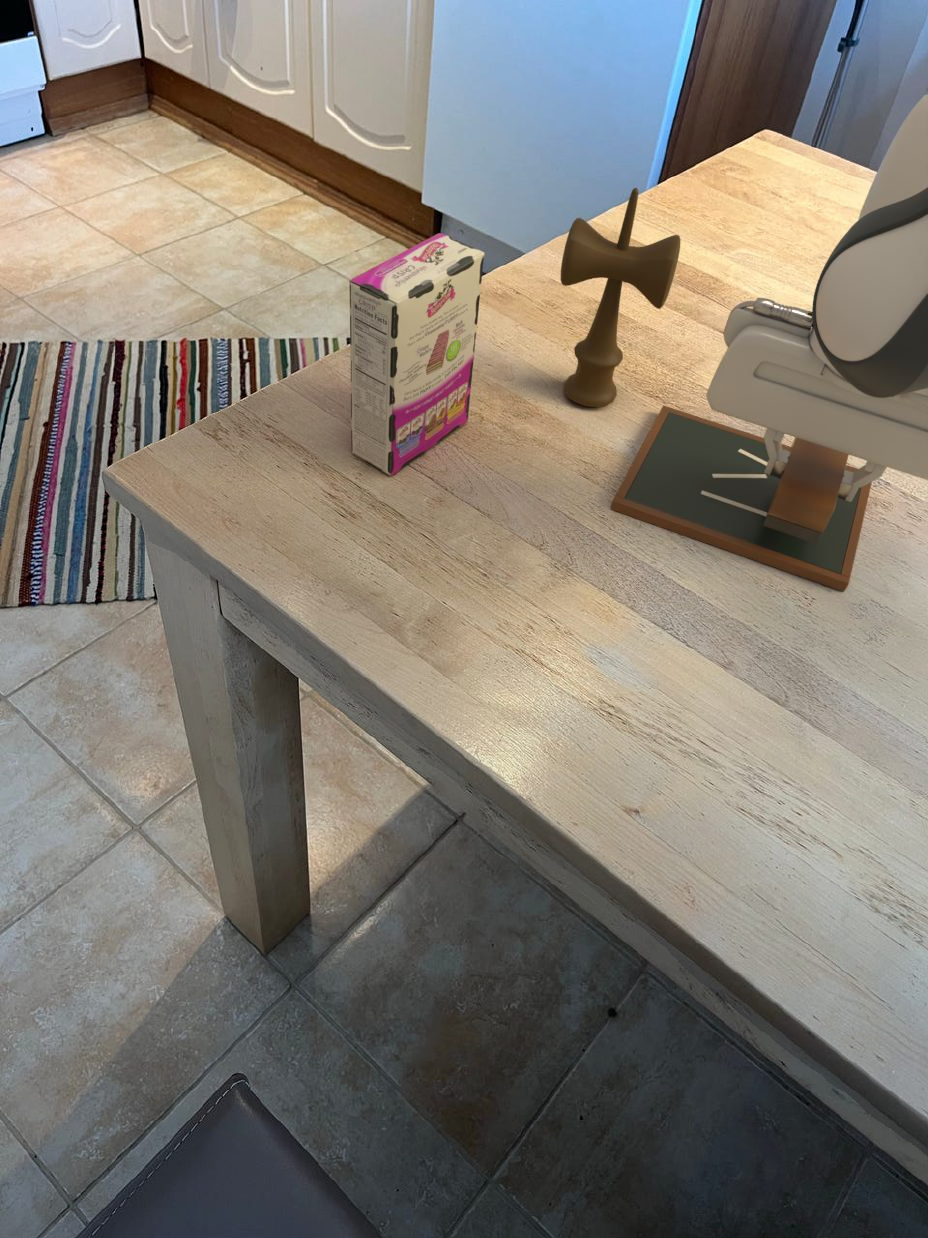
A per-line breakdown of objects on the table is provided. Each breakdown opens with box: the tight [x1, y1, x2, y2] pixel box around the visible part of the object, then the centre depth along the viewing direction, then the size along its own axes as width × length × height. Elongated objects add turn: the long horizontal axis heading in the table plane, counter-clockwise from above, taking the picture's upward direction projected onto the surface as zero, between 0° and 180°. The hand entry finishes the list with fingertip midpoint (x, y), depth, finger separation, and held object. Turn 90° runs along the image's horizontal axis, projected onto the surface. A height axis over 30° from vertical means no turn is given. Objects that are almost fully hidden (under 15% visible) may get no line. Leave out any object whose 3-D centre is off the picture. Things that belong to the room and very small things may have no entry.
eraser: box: [763, 437, 850, 544], centre depth 77 cm, size 4×10×4 cm, turn 156°
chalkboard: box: [610, 405, 873, 592], centre depth 83 cm, size 20×16×1 cm
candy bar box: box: [348, 232, 485, 477], centre depth 78 cm, size 11×5×16 cm, turn 143°
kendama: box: [560, 187, 682, 408], centre depth 84 cm, size 6×10×20 cm, turn 76°
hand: (808, 483), depth 77 cm, fingers closed on eraser, 4 cm apart
